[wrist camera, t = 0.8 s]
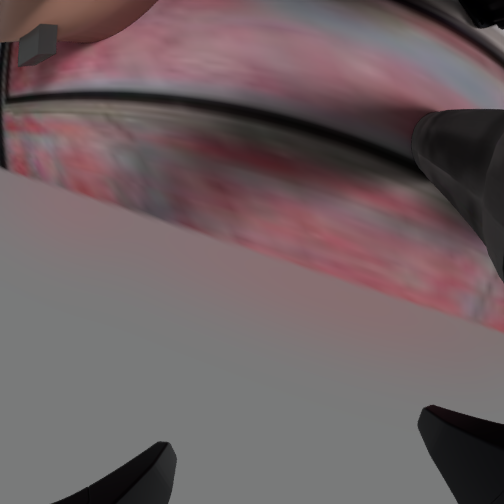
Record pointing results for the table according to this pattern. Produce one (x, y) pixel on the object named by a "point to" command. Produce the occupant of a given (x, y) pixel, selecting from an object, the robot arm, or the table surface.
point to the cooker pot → (63, 23)
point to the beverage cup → (467, 168)
